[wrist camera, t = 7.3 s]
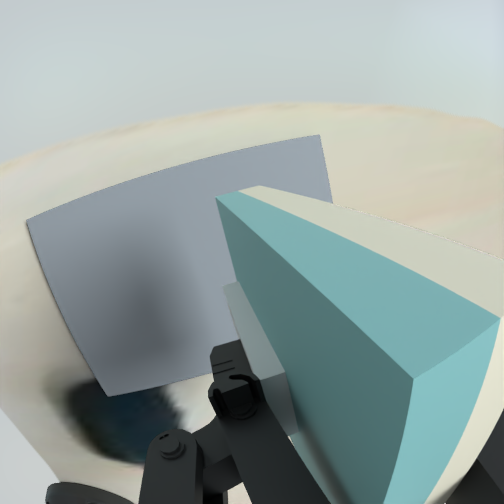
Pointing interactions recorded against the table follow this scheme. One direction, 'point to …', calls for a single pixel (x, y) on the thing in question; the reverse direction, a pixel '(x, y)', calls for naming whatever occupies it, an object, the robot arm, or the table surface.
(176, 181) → the mat
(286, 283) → the board
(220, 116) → the table surface
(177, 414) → the table surface
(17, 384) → the table surface
